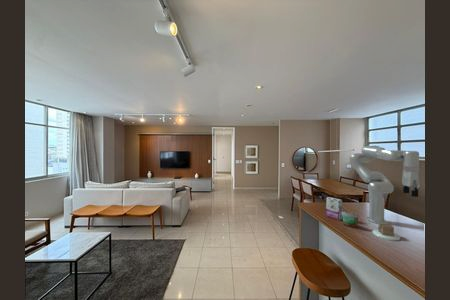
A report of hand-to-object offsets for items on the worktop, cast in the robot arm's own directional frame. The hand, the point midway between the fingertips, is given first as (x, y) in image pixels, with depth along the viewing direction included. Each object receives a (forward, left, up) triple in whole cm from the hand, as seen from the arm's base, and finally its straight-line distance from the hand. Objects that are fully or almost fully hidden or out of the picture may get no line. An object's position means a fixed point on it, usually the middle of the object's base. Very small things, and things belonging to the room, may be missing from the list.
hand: (410, 194), depth 127 cm
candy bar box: (-21, -41, -28) cm, 54 cm away
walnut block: (+5, -16, -26) cm, 31 cm away
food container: (-6, -35, -28) cm, 45 cm away
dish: (+5, -16, -28) cm, 32 cm away
